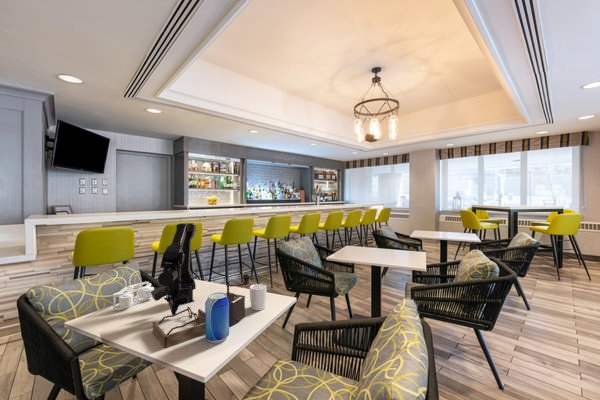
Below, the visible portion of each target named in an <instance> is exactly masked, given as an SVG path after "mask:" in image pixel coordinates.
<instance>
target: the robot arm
mask: <svg viewBox="0 0 600 400" xmlns="http://www.w3.org/2000/svg"><path fill="white" fill-rule="evenodd" d="M175 227H176V229H175V233H174V236H173V239H172V241H171V243H170V244H169V245H168V246H167V247H166V248H165V251H164V252H163V254H162V258H161V262H160V269H163V271H162V272H161V273H160V274H159V275H158V278H157V281H158V283H159V284H160V286H159V287H157V288H154V290H153V291H151V294H152V297H151V298H152V299H153V300H155V301H154V302H157V301H160V300H161V299H162V298H163V299H164V300H165V301H166V302H167V303H168V306H169V308H170V312H171V315H174V314H176V313H177V311H178V309H179V307H180V306H181V305H185V304H190V303H194V302H195V299H193V298H194V292H193V291H194V290H196V287H197V285H196V281H195V278H194V274H193V272H192V271H191V254H192V253H191V252H192V251H191V250H192V240H193V239H194V237H195V235H196V232H197V225H196V224H195V223H194V222H189V223H188V222H185V223H184V222H183V223H178V224H176V226H175Z"/></svg>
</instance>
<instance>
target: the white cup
mask: <svg viewBox="0 0 600 400" xmlns="http://www.w3.org/2000/svg"><path fill="white" fill-rule="evenodd" d="M267 286H268V285H266V284H263V283H257V284H252V285H250V286H249V299H250V309H251V310H252V311H263V310H265V309H266V301H267Z"/></svg>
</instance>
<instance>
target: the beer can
mask: <svg viewBox="0 0 600 400" xmlns="http://www.w3.org/2000/svg"><path fill="white" fill-rule="evenodd" d="M225 293H226V292H213V293H210V294H209V295H207V298H206V300H205V302H204V303H205V304H204V306H205V307H204V309H205V310H204V312H205V334H204V336H205V337H204V338H205V339H206V340H207V342H208V343H210V344H220V343H224V341H227V339H228V337H229V336H230V327H229V299H228V298H227V296H226V294H225Z"/></svg>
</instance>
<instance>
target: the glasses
mask: <svg viewBox="0 0 600 400" xmlns="http://www.w3.org/2000/svg"><path fill="white" fill-rule="evenodd" d="M185 312H187V313H188V315H189V317H190V318H193V317H194V319H192V320H189V321H188V322H186V323H184V324H182V325H177V326H175V327H172V328H171V329H170V330H169V331H168V332H167V333H165V334H166V335H169V334H172V332H173V331H174V330H176V329H180V328H184V327H186V326H188V325H190V324H192V323H194V322H195V323H196V324H197V325H200V320H199V318H198V313H197V312H193V310H192V308H191V307H190V306H187V307H186V309H183V310H181V311H178V312H176V314H174V315H172V314H171V315H167V316H166V315H165V316H163V317H162V319H160V321H159V322H158V324H157V325H159V324H162V322H163V321H164V320H165V319H167V318H174V317H177V316H178V315H180V314H182V313H185Z"/></svg>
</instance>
